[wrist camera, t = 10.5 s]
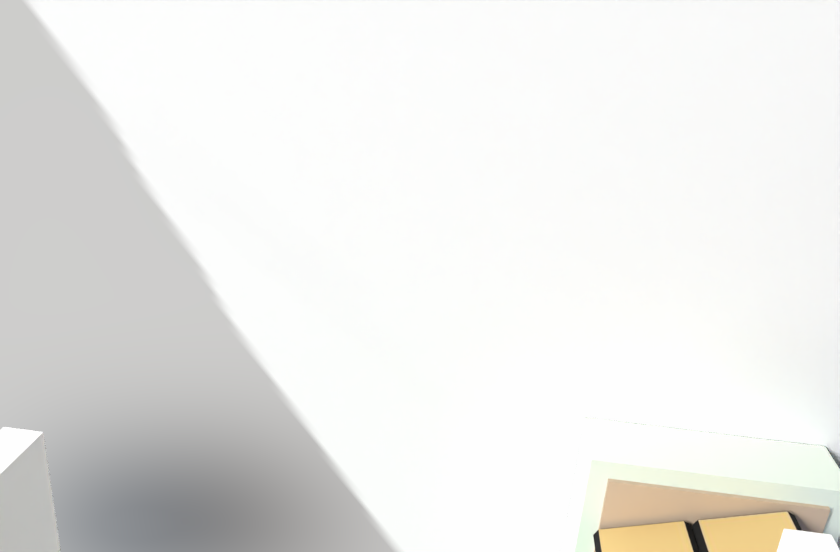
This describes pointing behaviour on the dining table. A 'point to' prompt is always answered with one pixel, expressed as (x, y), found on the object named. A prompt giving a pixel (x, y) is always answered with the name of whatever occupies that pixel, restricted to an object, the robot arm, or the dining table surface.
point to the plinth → (694, 480)
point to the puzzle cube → (700, 535)
